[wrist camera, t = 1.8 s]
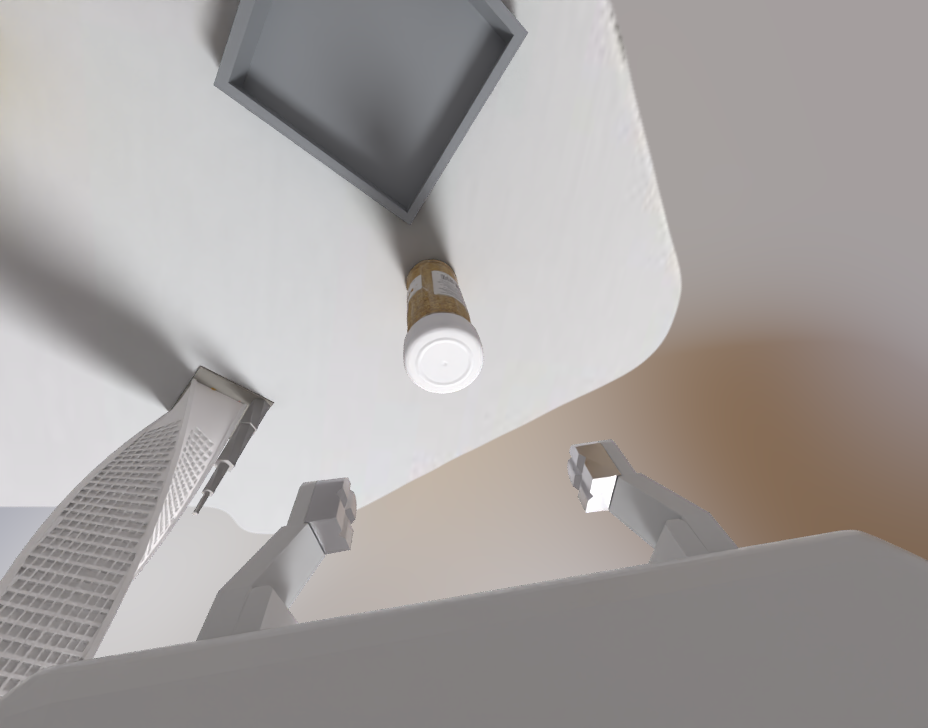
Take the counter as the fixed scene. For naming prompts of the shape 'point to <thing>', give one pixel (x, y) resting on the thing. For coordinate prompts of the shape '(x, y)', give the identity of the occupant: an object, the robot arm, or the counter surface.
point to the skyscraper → (117, 527)
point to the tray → (371, 82)
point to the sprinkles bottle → (439, 331)
